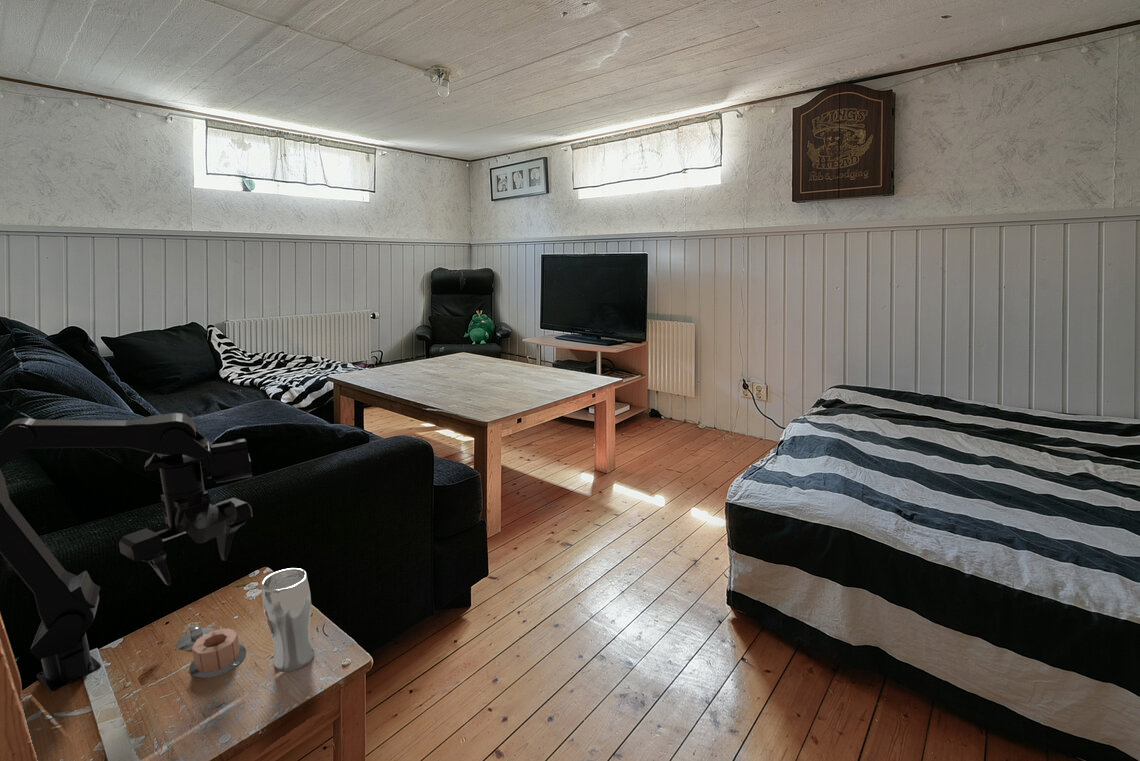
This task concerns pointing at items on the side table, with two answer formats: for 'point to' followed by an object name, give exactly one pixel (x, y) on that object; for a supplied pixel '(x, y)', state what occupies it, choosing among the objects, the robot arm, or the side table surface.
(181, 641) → the metal knobbed lid
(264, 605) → the beer glass
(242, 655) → the hub
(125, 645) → the side table surface
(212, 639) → the octagonal hollow tube
